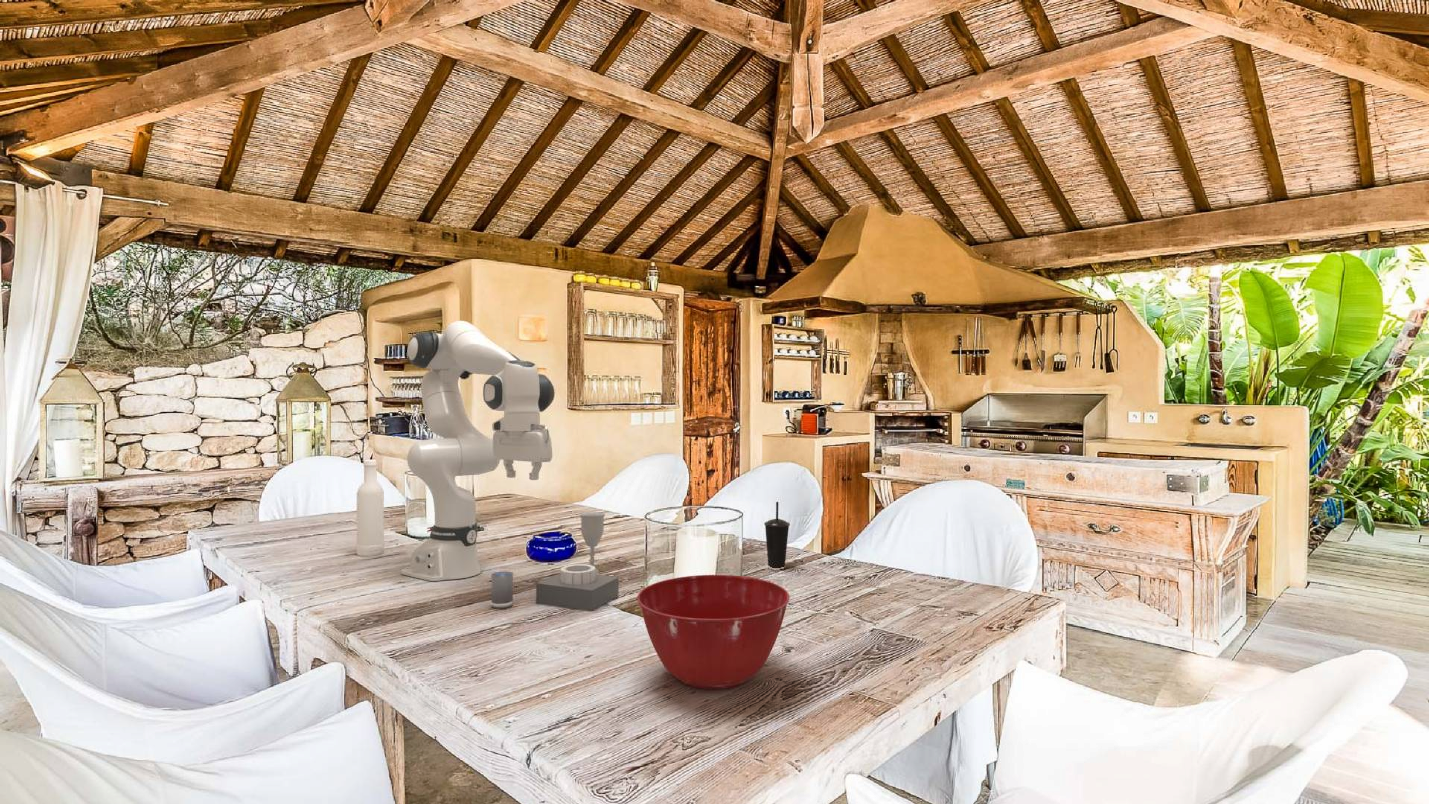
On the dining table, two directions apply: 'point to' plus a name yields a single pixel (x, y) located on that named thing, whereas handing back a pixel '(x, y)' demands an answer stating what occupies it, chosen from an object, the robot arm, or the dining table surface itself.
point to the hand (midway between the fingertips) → (522, 478)
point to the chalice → (592, 531)
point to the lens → (501, 590)
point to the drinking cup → (776, 541)
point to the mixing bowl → (713, 626)
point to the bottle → (370, 513)
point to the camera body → (577, 588)
